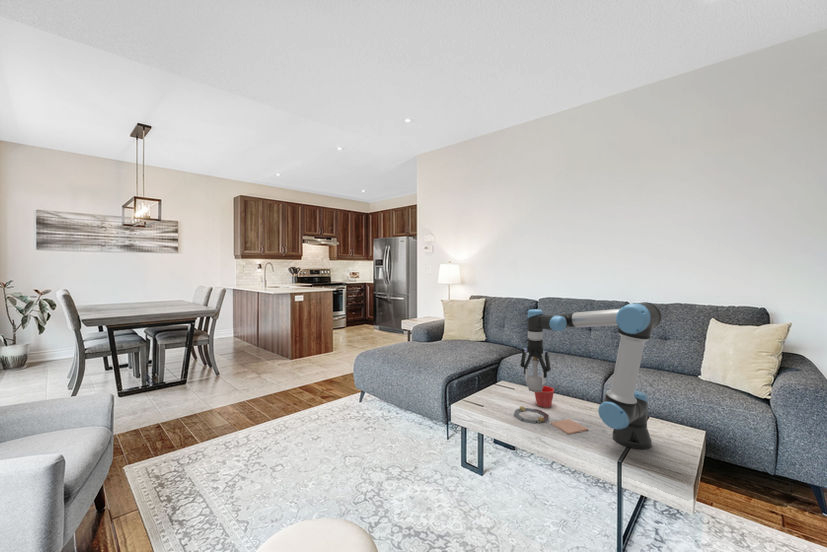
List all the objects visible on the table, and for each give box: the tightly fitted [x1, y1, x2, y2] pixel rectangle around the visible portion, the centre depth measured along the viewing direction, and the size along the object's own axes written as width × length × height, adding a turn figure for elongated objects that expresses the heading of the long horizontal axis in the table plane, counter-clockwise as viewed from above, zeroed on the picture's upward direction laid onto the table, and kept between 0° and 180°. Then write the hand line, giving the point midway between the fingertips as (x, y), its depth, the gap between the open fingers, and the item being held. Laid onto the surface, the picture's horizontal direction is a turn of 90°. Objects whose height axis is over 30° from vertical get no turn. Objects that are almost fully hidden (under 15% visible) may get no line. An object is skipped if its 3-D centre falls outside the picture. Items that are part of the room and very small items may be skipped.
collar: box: [513, 405, 550, 425], centre depth 187 cm, size 17×17×2 cm
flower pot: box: [534, 385, 555, 409], centre depth 203 cm, size 11×11×10 cm
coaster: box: [550, 418, 589, 435], centre depth 175 cm, size 12×12×1 cm
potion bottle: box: [525, 356, 545, 393], centre depth 185 cm, size 9×9×18 cm
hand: (535, 382), depth 185 cm, fingers closed on potion bottle, 8 cm apart
